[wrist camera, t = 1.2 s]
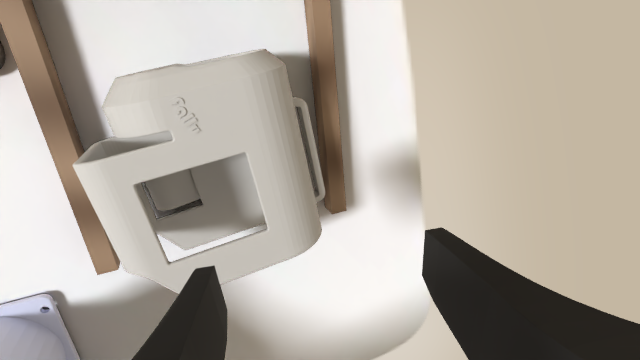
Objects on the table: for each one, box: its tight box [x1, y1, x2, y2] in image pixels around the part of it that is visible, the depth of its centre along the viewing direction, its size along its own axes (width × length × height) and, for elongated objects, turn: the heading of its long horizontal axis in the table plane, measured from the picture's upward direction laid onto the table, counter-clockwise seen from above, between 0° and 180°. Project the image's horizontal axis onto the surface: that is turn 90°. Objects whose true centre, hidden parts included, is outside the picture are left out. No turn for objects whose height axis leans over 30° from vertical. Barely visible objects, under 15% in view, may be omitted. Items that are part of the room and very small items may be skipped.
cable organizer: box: [73, 49, 325, 294], centre depth 22 cm, size 7×12×12 cm
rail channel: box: [0, 0, 346, 275], centre depth 21 cm, size 21×17×4 cm
